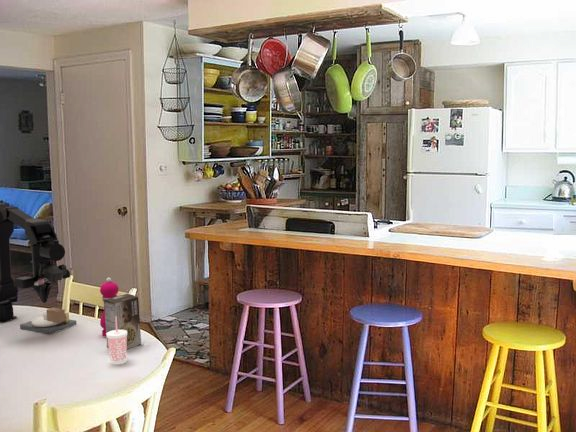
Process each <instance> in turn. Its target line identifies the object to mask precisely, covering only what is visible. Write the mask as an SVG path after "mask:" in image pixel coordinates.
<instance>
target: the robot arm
mask: <svg viewBox="0 0 576 432" xmlns="http://www.w3.org/2000/svg"><path fill="white" fill-rule="evenodd" d="M15 225H16V226H17V227H20V228H21V229H23V230H24V234H25V235H26V236H27V238H29V241H28V242H27V244H28V245H30V248H31V260H30V261H29V265H32V272H30V276H25V275H24V276H20V277H17V278H16V277H15V279H14V278H13V277H12V265H11V264H12V263H11V262H12V261H11V246H10V245H11V244H10V239H11V237H12V235H13V234H14V232H15ZM59 241H60V240H58V237H57V234H56V232H55V230H54V228H53V226H52V224H51V223H50V222H49V221H48V220H46V219H42V218H34V217H33V216H31V215H30V214H27V213H26V212H24V211H23V210H21V209H20V208H19V207H18V206H7V207H6V206H5V207H4V208H2V209H1V210H0V323H5V322H9V321H12V320H15V319H17V318H18V316H15V314H14V307H13V306H14V305H13V303H17V302H18V295H19V289H29V288H33V290H34V291H35V292H36V294H37V295H38V297H39V299H40V301H41V302H42V303H43V304H46V303H47V302H48V298H49V295H50V291H51V289H52V287H53V286H54V285H55V284H56V283H58V281H62V280H63V279H64V280H65V279H68V278H71V272H70V270H69V269H68V268H67V265H66V264H59V265H55V263H54V262H58V261H61V260H63V258H64V257H65V254H66V250H65V247H64V246H63V245H62V244H60V243H59ZM18 288H19V289H18Z"/></svg>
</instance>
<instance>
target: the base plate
mask: <svg viewBox="0 0 576 432" xmlns="http://www.w3.org/2000/svg"><path fill="white" fill-rule="evenodd" d="M76 325H77V320H74V319H70V318H69V323H68V324H64V323H61V324H58V325H54V326H48V327H36V326H33V325H32V320H30V321H27V322H24V323H21V324H19V329H20V330H24V331H29V332H34V333H39V334H40V333H41V334H46V335H53V334H55V333H57V332H60V331H63V330H66V329H69V328H71V327H74V326H76Z"/></svg>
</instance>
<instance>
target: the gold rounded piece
mask: <svg viewBox="0 0 576 432" xmlns="http://www.w3.org/2000/svg"><path fill="white" fill-rule="evenodd" d="M69 319H70V313H69V312H65V321H63V323H64V324H68V323H69Z"/></svg>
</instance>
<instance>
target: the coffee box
mask: <svg viewBox="0 0 576 432" xmlns="http://www.w3.org/2000/svg"><path fill="white" fill-rule="evenodd" d="M104 307H105V322H106V333H107V332H109V331H112V330H116V323H115V316H117V330H126V331H127V350H128V349H130V348H133V347H136V346H139V344H140V345H142V336H141V335H142V334H141V319H140V304H139V296H136V295H133V294H130V293H125V294H120V295H117V296H116V297H113V298H109V299H105V300H104V302H103V308H104ZM106 336H107V335H106ZM106 348H107V349H109V346H108V338H107V337H106Z"/></svg>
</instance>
